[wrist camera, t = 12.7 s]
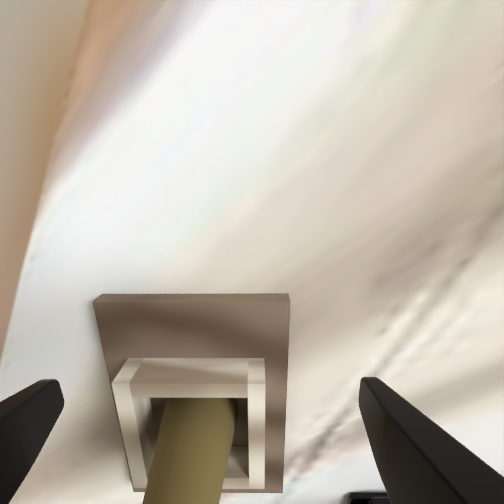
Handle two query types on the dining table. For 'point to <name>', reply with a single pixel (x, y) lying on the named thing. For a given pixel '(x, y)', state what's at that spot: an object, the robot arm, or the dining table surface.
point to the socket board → (200, 373)
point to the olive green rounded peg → (192, 451)
